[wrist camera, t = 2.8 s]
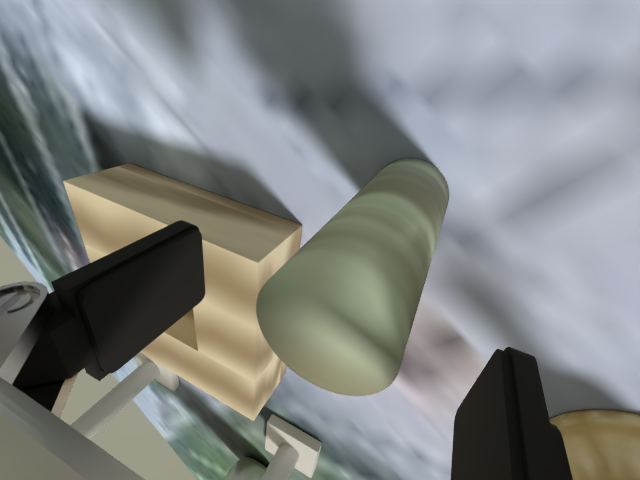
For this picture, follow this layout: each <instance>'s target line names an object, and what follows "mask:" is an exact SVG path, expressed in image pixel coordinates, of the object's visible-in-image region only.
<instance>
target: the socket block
mask: <svg viewBox="0 0 640 480" xmlns="http://www.w3.org/2000/svg"><path fill="white" fill-rule="evenodd" d="M63 182H64V185H65V188H66V191H67V194H68V197H69V200H70V203H71V206H72V209H73V212H74V215H75V218H76V221H77V224H78V227H79V230H80V233H81V236H82V239H83V242H84V245H85V248H86V251H87V254H88V258H89V261H90V263H92V262H94V261H96V260H98V259H100V258H102V257H104V256H106V255H108V254H110V253H112V252H115V251H117V250H119V249H121V248H123V247H125V246H127V245H129V244H131V243H133V242H135V241H137V240H139V239H141V238H143V237H146V236H148V235H150V234H152V233H154V232H156V231H158V230H160V229H162V228H164V227H166V226H168V225H170V224H172V223H174V222H177V221H179V220H183V221H186V222H188V223H191V224H193V225H196V226H197V227H198V228H199V231H200V232H201V234H202V246H203V261H204V277H205V296H204V298H203V300H202V301H201V302H200V303H199V304H198V305H196V306H195V307H194V308H193V309H192V310H190V311H189V312H188V313H187V314H185V315H184V316H183V317H182V318H181V319H179V320H178V321H177V322H176V323H174V324H173V325H172V326H171V327H170V328H168V329H167V330H166V331H165V332H163V333H162V334H161V335H160V336H159V337H157V338H156V339H155V340H154V341H153V342H151V343H150V344H149V345H148V346H146V347H145V348H144V349H143V350H142V351H140V353H142V354H144V355H145V356H147V357H149V358H150V359H152V360H153V361H155V362H157V363H158V364H160V365H162V366H163V367H165V368H167V369H168V370H170V371H172V372H173V373H175V374H177V375H178V376H180V377H182V378H183V379H185V380H187V381H188V382H190V383H191V384H193V385H195V386H196V387H198V388H200V389H201V390H203V391H205V392H206V393H208V394H210V395H211V396H213V397H215V398H216V399H218V400H220V401H221V402H223V403H224V404H226V405H228V406H229V407H231V408H233V409H234V410H236V411H238V412H239V413H241V414H243V415H244V416H246V417H248V418H249V419H251V420H253V421H254V420H255V418H256V417H257V415H258V414H259V412H260V411H261V409H262V408H263V406H264V405H265V403H266V402H267V400H268V399H269V397H270V395H271V394H272V392H273V391H274V389H275V388H276V386H277V385H278V383H279V382H280V380H281V379H282V377H283V376H284V374H285V372H286V365H285V364H284V363H283V362H282V361H281V360H280V359H279V357H278V356H277V355H276V354H275V353H274V351H273V350H272V349H271V347H270V346H269V344H268V343H267V341H266V340H265V338H264V336H263V334H262V331H261V329H260V326H259V323H258V319H257V314H256V303H257V297H258V294H259V292H260V290H261V288H262V286H263V285H264V284H265V283H266V282H267V281H268V280H269V279H270V278H271V277H272V276H273V275H274V274H275V273H276V272H277V271H278V270H279V269H280V268H281V267H282V266H283V265H284V264H285V263H286V262H287V261H288V260H289V259H290V258H291V257H292V256H293V255H294V254H295V253H296V252H297V251H299V250H300V241H301V233H302V225H300V224H298V223H295V222H292V221H289V220H286V219H284V218H281V217H278V216H275V215H272V214H270V213H267V212H264V211H261V210H259V209H256V208H253V207H250V206H247V205H245V204H242V203H239V202H236V201H233V200H231V199H228V198H225V197H222V196H220V195H217V194H214V193H211V192H208V191H206V190H203V189H200V188H197V187H194V186H192V185H189V184H186V183H183V182H180V181H178V180H175V179H172V178H169V177H167V176H164V175H161V174H158V173H155V172H153V171H150V170H147V169H144V168H141V167H139V166H136V165H133V164H130V163H128V164H125V165H121V166H117V167H113V168H110V169H106V170H102V171H98V172H95V173H91V174H87V175H84V176H80V177H76V178H72V179H69V180H65V181H63Z"/></svg>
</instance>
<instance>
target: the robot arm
mask: <svg viewBox="0 0 640 480" xmlns="http://www.w3.org/2000/svg"><path fill="white" fill-rule="evenodd" d="M52 285H53V288H54V290H55V291H54V292H52V293H50V294H49V292H48V290H47V287H46V286H44V285H43V284H41V283H37V282H18V283H13V284H9V285H5V286H1V287H0V480H145V479H143V478H142V477H141V476H139V475H138V474H136V473H135V472H134V471H132V470H131V469H129V468H128V467H127V466H125V465H124V464H122V463H121V462H120V461H118V460H117V459H116V458H114V457H113V456H111V455H110V454H109V453H107V452H106V451H105V450H103V449H102V448H100V447H99V446H98V445H96V444H95V443H93V442H92V441H91V440H89V439H88V438H86V437H85V436H84V435H82V434H81V433H79V432H78V431H77V430H75V429H74V428H72V427H71V426H70V425H68V424H67V423H65V422H64V421H62V420H61V419H60V417H61V414H62V412H63V410H64V407H65V405H66V402H67V399H68V397H69V394H70V392H71V389H72V387H73V384H74V382H75V379H76V377H77V374H78V372H80V371H81V370H82V369H84V368H85V370H86V373H88V374H89V375H91V376H92V377H94V378H95V379H98V380H99V381H100V380H101V379H102V378H104V377H105V376H106V375H107V374H109V373H113V372H115V371H117V370H118V369H120V368H121V367H122V366H123V365H124V364H126V363H127V362H128V361H129V360H131V359H132V358H133V357H134V356H135V355H137V354H138V353H139V352H140V351H142V350H143V349H144V348H145V347H146V346H148V345H149V344H150V343H151V342H153V341H154V340H155V339H156V338H157V337H159V336H160V335H161V334H162V333H163V332H165V331H166V330H167V329H168V328H170V327H171V326H172V325H173V324H174V323H176V322H177V321H178V320H179V319H181V318H182V317H183V316H184V315H185V314H187V313H188V312H189V311H190V310H192V309H193V308H194V307H195V306H196V305H198V304H199V303H200V302H201V301H202V300H203V298H204V296H205V277H204V261H203V246H202V234H201V232H200V231H199V228H198V227H197V226H196V225H193V224H191V223H188V222H186V221H183V220H179V221H177V222H174V223H172V224H170V225H168V226H166V227H164V228H162V229H160V230H158V231H156V232H154V233H152V234H150V235H148V236H146V237H143V238H141V239H139V240H137V241H135V242H133V243H131V244H129V245H127V246H125V247H123V248H121V249H119V250H117V251H115V252H112V253H110V254H108V255H106V256H104V257H102V258H100V259H98V260H96V261H94V262H92V263H90V264H88V265H86V266H84V267H81V268H79V269H77V270H75V271H73V272H71V273H69V274H67V275H65V276H63V277H61V278H59V279H57V280H55V281H52ZM451 480H573V478H572V474H571V470H570V465H569V461H568V457H567V453H566V449H565V445H564V441H563V437H562V435H561V432H560V430H559V429H558V427H557V426H555V425H553V424H551V423H550V421H549V417H548V412H547V407H546V403H545V398H544V393H543V389H542V384H541V380H540V375H539V370H538V366H537V361H536V359H535V357H534V356H531V355H529V354H526V353H524V352H521V351H518V350H516V349H513V348H511V347H507V348H506V349H505V350H504V351H502V350H500V349H497V350H496V351H495V352H494V354H493V355H492V357H491V358H490V360H489V361H488V363H487V364H486V366H485V368H484V369H483V371H482V372H481V374H480V375H479V377H478V378H477V380H476V382H475V383H474V385H473V386H472V388H471V389H470V391H469V392H468V394H467V396H466V397H465V399H464V400H463V402H462V403H461V405H460V406H459V408H458V410H457V413H456V416H455V421H454V436H453V452H452V469H451Z"/></svg>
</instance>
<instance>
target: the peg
mask: <svg viewBox="0 0 640 480" xmlns="http://www.w3.org/2000/svg"><path fill="white" fill-rule="evenodd" d="M448 201H449V189H448V185H447V182H446V180H445V178H444V176H443V175H442V173H441V172H440V171H439V170H438V169H437V168H436V167H435V166H433V165H432V164H430V163H428V162H426V161H423V160H420V159H415V158H404V159H399V160H396V161H394V162H392V163H390V164H388V165H387V166H385V167H384V168H383V169H382V170H381V171H380V172H379V173H378V174H377V175H376V176H375V177H374V178H373V179H372V180H371V181H370V182H369V183H368V184H367V185H366V186H365V187H364V188H363V189H361V190H360V191H359V192H358V193H357V194H356V195H355V196H354V197H353V198H352V199H351V200H350V201H349V202H348V203H347V204H346V205H345V206H344V207H343V208H342V209H341V210H340V211H339V212H338V213H337V214H336V215H335V216H334V217H333V218H332V219H331V220H329V221H328V222H327V223H326V224H325V225H324V226H323V227H322V228H321V229H320V230H319V231H318V232H317V233H316V234H315V235H314V236H313V237H312V238H311V239H310V240H309V241H308V242H307V243H306V244H305V245H304V246H303V247H302V248H301V249H300V250H299V251H297V252H296V253H295V254H294V255H293V256H292V257H291V258H290V259H289V260H288V261H287V262H286V263H285V264H284V265H283V266H282V267H281V268H280V269H279V270H278V271H277V272H276V273H275V274H274V275H273V276H272V277H271V278H270V279H269V280H268V281H267V282H266V283H265V284H264V285H263V286H262V288H261V290H260V292H259V294H258V297H257V303H256V314H257V319H258V323H259V326H260V329H261V331H262V334H263V336H264V338H265V340H266V341H267V343H268V344H269V346H270V347H271V349H272V350H273V351H274V353H275V354H276V355H277V356H278V357H279V359H280V360H281V361H282V362H283V363H284V364H285V365H287V366H288V367H289V368H290V369H291V370H292V371H294V372H295V373H296V374H297V375H299V376H300V377H302V378H303V379H305V380H307V381H308V382H310V383H312V384H314V385H316V386H318V387H320V388H322V389H325V390H328V391H331V392H334V393H337V394H343V395H349V396H365V395H371V394H374V393H378V392H380V391H382V390H384V389H385V388H387V387H388V386H389V385H390V384H391V383H392V382H393V381H394V380H395V378H396V376H397V374H398V372H399V369H400V365H401V362H402V359H403V355H404V352H405V348H406V345H407V342H408V338H409V335H410V331H411V328H412V325H413V321H414V318H415V314H416V311H417V307H418V304H419V301H420V297H421V294H422V290H423V287H424V284H425V280H426V277H427V273H428V270H429V267H430V263H431V260H432V256H433V253H434V250H435V246H436V243H437V239H438V236H439V232H440V229H441V226H442V222H443V219H444V215H445V212H446V209H447V205H448Z"/></svg>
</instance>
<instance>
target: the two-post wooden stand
mask: <svg viewBox="0 0 640 480" xmlns="http://www.w3.org/2000/svg"><path fill="white" fill-rule="evenodd" d="M136 358H137V362H138V365H139V367H138V368H137V369H135V370H134V371H133V372H132V373H131V374H130V375H129V376H127V377H126V378H125V379H124V380H123V381H122V382H120V383H119V384H118V385H117V386H116V387H115V388H113V389H112V390H111V391H110V392H109V393H108V394H106V395H105V396H104V397H103V398H102V399H101V400H99V401H98V402H97V403H96V404H95V405H94V406H92V407H91V408H90V409H89V410H88V411H87V412H86V413H84V414H83V415H82V416H81V417H80V418H78V419H77V420H76V421H75V422H74V423H73V424H72V425H70V426H71V427H72V428H74V429H75V430H77V431H78V432H79V433H81V434H82V435H84V436H85V437H86V438H88V439H90V438H91V437H92V436H93V435H95V433H97V432H98V431H99V430H100V429H101V428H102V427H103V426H104V425H105V424H106V423H107V422H108V421H110V420H111V419H112V418H113V417H114V416H115V415H116V414H117V413H118V412H119V411H120V410H121V409H122V408H123V407H124V406H126V405H127V404H128V403H129V402H130V401H131V400H132V399H133V398H134V397H135V396H136V395H137V394H138V393H140V392H141V391H142V390H143V389H144V388H145V387H146V386H147V385H148V384H149V383H150V382H151V381H152V380H153V379H154V380H156V381H157V382H159V383H161V384H162V385H164V386H165V387H167V388H169V389H170V390H172V391H173V392H174V391H175V390H176V389H177V388H178V387H179V386H180V384H179V379H178V375H177V374H175V373H173V372H172V371H170V370H168V369H167V368H165V367H163V366H162V365H160V364H158V363H157V362H155V361H153V360H152V359H150V358H149V357H147V356H145V355H144V354H142V353H140V352H139V353H138V354H137V355H136ZM321 445H322V443H321V442H320V441H318V440H316V439H315V438H313V437H311V436H309V435H308V434H306V433H304V432H303V431H301V430H299V429H297V428H296V427H294V426H292V425H291V424H289V423H287V422H285V421H284V420H282V419H280V418H279V417H277V416H275V415H274V414H272V415H271V417H270V418H269V420H268V421H267V430H266V444H265V450H267V451H269V452H270V453H272V454H273V455H274V456H273V458H272V460H271V462H270V464H269V465H268V467H267V469H266V471H265V473H264V475H263V476H262V478H261V480H288V479H289V477H290V475H291V473H292V471H293V469H294V468H296V469H297V470H299V471H300V472H302V473H304V474H305V475H307V476H308V477H310V478H311V477H312V475H313V473H314V470H315V468H316V464H317V460H318V456H319V453H320V449H321Z"/></svg>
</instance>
